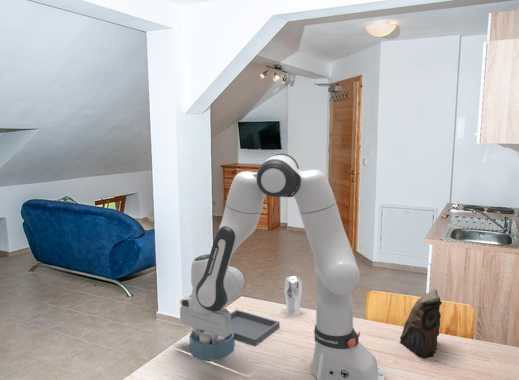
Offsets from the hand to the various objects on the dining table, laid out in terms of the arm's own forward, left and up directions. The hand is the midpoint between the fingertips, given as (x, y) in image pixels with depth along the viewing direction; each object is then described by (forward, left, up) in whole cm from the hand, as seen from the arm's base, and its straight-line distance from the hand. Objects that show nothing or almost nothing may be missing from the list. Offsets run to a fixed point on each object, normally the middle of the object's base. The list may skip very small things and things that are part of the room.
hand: (206, 341), depth 143 cm
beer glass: (-10, -42, -4) cm, 43 cm away
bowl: (0, -3, -4) cm, 5 cm away
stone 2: (0, -6, -3) cm, 7 cm away
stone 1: (0, 0, -1) cm, 1 cm away
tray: (-2, -20, -4) cm, 20 cm away
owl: (-59, -43, -4) cm, 73 cm away
